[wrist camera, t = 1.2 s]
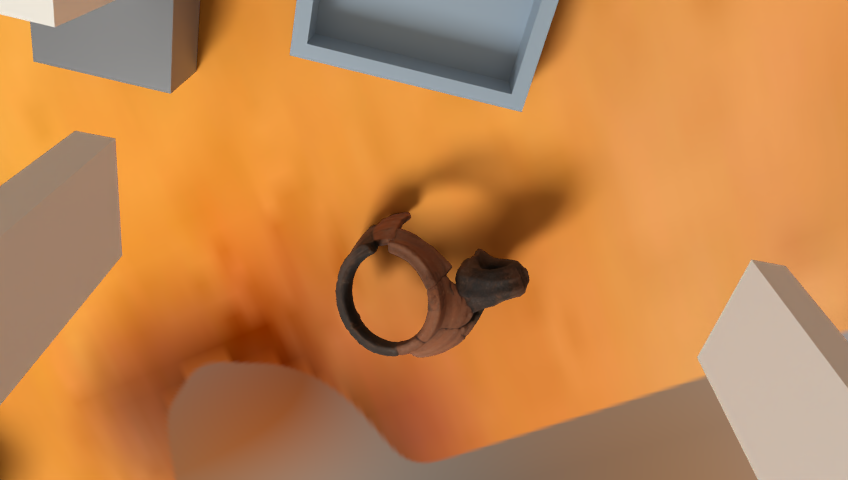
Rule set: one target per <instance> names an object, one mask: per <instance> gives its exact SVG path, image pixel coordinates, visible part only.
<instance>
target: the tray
mask: <svg viewBox="0 0 848 480" xmlns="http://www.w3.org/2000/svg"><path fill="white" fill-rule="evenodd" d="M558 1H559V0H297V3H296V11H295V18H294V26H293V34H292V42H291V50H290V55H291V56H295V57H299V58H303V59H307V60H311V61H315V62H319V63H324V64H328V65H332V66H336V67H340V68H344V69H348V70H352V71H356V72H360V73H364V74H369V75H373V76H377V77H381V78H385V79H389V80H393V81H397V82H401V83H405V84H409V85H414V86H418V87H422V88H426V89H430V90H434V91H438V92H442V93H446V94H450V95H454V96H459V97H463V98H467V99H471V100H475V101H479V102H483V103H487V104H491V105H495V106H499V107H504V108H508V109H512V110H516V111H520V112H522V109H523V106H524V103H525V100H526V97H527V94H528V91H529V88H530V85H531V82H532V79H533V76H534V73H535V70H536V67H537V64H538V61H539V58H540V55H541V52H542V49H543V46H544V43H545V40H546V37H547V34H548V31H549V28H550V25H551V22H552V19H553V16H554V13H555V10H556V7H557V4H558Z"/></svg>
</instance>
